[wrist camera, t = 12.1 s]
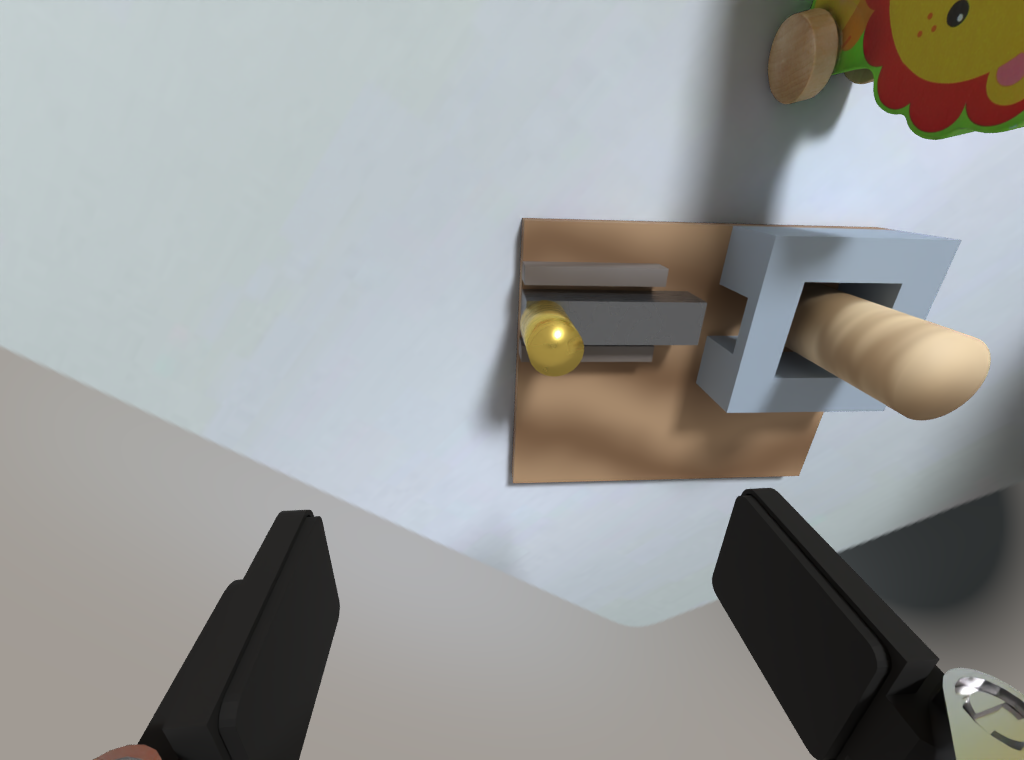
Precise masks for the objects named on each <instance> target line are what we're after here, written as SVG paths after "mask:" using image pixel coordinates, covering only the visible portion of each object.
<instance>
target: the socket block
mask: <svg viewBox="0 0 1024 760" xmlns="http://www.w3.org/2000/svg"><path fill="white" fill-rule="evenodd" d="M960 243H961V240H957V239H951V238H944V237H937V236H931V235H924V234H918V233H911V232H904V231H898V230H876V229H838V228H799V227H761V226H733V229H732V233H731V237H730V241H729V245H728V250H727V254H726V258H725V262H724V267H723V271H722V275H721V279H720V283H719V284H720V285H722V286H724V287H726V288H729V289H731V290H733V291H735V292H737V293H739V294H741V295H743V296H745V297H747V298H748V300H747V304H746V307H745V311H744V315H743V319H742V322H741V326H740V330H739V333H738V336H707V338H706V342H705V347H704V351H703V355H702V359H701V364H700V368H699V372H698V376H697V380H696V384H697V385H699V386H700V387H701V388H702V389H703V390H704V391H705V392H706V393H707V394H708V395H709V396H710V397H711V398H712V399H713V400H714V401H715V402H716V403H717V404H718V405H719V406H720V407H721V408H722V409H723V410H724V411H725V412H726V413H760V412H839V411H884V409H885V407H886V405H885V404H883V403H881V402H880V401H878V400H876V399H874V398H873V397H871V396H869V395H868V394H866V393H864V392H862V391H861V390H859V389H857V388H856V387H854V386H852V385H851V384H849V383H847V382H845V381H844V380H842V379H840V378H839V377H837V376H835V375H833V374H832V373H830V372H828V371H827V370H825V369H823V368H821V367H820V366H818V365H816V364H815V363H813V362H811V361H809V360H808V359H806V358H804V357H803V356H801V355H799V354H797V353H796V352H783V349H784V345H785V342H786V339H787V336H788V333H789V330H790V327H791V324H792V320H793V317H794V314H795V311H796V308H797V305H798V302H799V299H800V295H801V292H802V289H803V286H804V283H805V282H833V283H840V284H839V287H838V290H839V291H842V292H844V293H847V294H850V295H853V296H856V297H859V298H862V299H865V300H868V301H871V302H873V303H876V304H879V305H882V306H885V307H888V308H891V309H894V310H897V311H900V312H903V313H905V314H908V315H911V316H914V317H917V318H920V319H923V320H925V319H926V317H927V315H928V313H929V311H930V308H931V306H932V304H933V302H934V300H935V297H936V295H937V293H938V291H939V289H940V286H941V284H942V282H943V280H944V278H945V275H946V273H947V271H948V269H949V267H950V265H951V262H952V260H953V258H954V256H955V254H956V251H957V249H958V247H959V245H960Z"/></svg>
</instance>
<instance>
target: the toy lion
mask: <svg viewBox="0 0 1024 760" xmlns="http://www.w3.org/2000/svg"><path fill="white" fill-rule="evenodd" d="M843 72H844V74H845V75H846V77H847V78H848V79H849V80H850V81H852V82H854V83H856V84H866V83H869V82H873V81H874V88H873V92H874V97H875V100H876V103H877V104H878V105H879V107H880V108H881V109H883V110H884V111H886V112H887V113H890V114H902V115H904V116H905V118H906V120H907V124H908V126H909V128H910V129H911V130H912V131H913V132H914V133H915V134H916V135H918V136H920V137H922V138H925V139H932V140H938V139H944V138H948V137H952V136H957V135H961V134H965V133H970V132H974V131H977V132H983V133H998V132H1004V131H1008V130H1013V129H1017V128H1021V127H1024V0H813V3H812V6H811V9H810V10H807V11H803V12H799V13H796V14H793V15H791V16H790V17H788V18H787V19H786V20H785V21H784V22H783V23H782V25H781V26H780V28H779V29H778V31H777V33H776V35H775V38H774V40H773V43H772V47H771V51H770V56H769V62H768V79H769V85H770V89H771V92H772V94H773V96H774V97H775V98H776V100H778V101H779V102H780V103H783V104H791V103H795V102H799V101H803V100H807V99H810V98H812V97H814V96H815V95H817V94H818V93H819V92H820V91H821V90H822V89H823V88H824V87H825V85H826V84H827V82H828V80H829V78H830V76H831V75H835V74H839V73H843Z"/></svg>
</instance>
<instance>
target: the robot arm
mask: <svg viewBox="0 0 1024 760" xmlns="http://www.w3.org/2000/svg"><path fill="white" fill-rule="evenodd" d="M712 584H713V588H714V591H715V593H716V595H717V597H718V599H719V600H720V602H721V604H722V606H723V607H724V609H725V611H726V612H727V614H728V616H729V617H730V619H731V621H732V622H733V624H734V626H735V628H736V629H737V631H738V633H739V634H740V636H741V638H742V639H743V641H744V643H745V644H746V646H747V648H748V650H749V651H750V653H751V655H752V656H753V658H754V660H755V662H756V663H757V665H758V667H759V668H760V670H761V672H762V673H763V675H764V677H765V678H766V680H767V682H768V684H769V685H770V687H771V689H772V690H773V692H774V694H775V696H776V697H777V699H778V701H779V702H780V704H781V706H782V707H783V709H784V711H785V712H786V714H787V716H788V717H789V719H790V721H791V723H792V724H793V726H794V728H795V729H796V731H797V733H798V734H799V736H800V738H801V739H802V741H803V743H804V745H805V746H806V748H807V749H808V751H809V752H810V754H811V755H812V756H813V757H814V758H816V759H817V760H1024V695H1023V694H1022V693H1020V692H1019V691H1017V690H1016V689H1014V688H1013V687H1012V686H1010V685H1008V684H1006V683H1004V682H1002V681H1001V680H999V679H997V678H995V677H993V676H991V675H988V674H985V673H982V672H979V671H976V670H973V669H966V668H956V669H951V670H949V671H948V672H947V673H946V674H944V673H943V672H942V671H941V670H940V669H939V668H938V667H937V666H936V664H937V662H938V661H939V658H938V657H937V656H936V655H935V654H934V653H933V652H932V651H931V650H930V649H929V648H928V647H927V646H926V645H925V644H924V643H923V642H922V640H921V639H920V638H919V637H918V636H917V635H916V634H915V633H914V632H913V631H912V630H911V629H910V628H909V627H908V626H907V625H906V624H905V623H904V622H903V621H902V620H901V619H900V618H899V617H898V616H897V615H896V614H895V613H894V612H893V610H892V609H891V608H890V607H889V606H888V605H887V604H886V603H885V602H884V601H883V600H882V599H881V598H880V597H879V596H878V595H877V594H876V593H875V592H874V591H873V590H872V589H871V588H870V587H869V586H868V585H867V584H866V583H865V582H864V581H863V579H862V578H861V577H860V576H859V575H858V574H857V573H856V572H855V571H854V570H853V569H852V568H851V567H850V566H849V565H848V564H847V563H846V562H845V561H844V560H843V559H842V558H841V557H840V556H839V555H838V554H837V553H836V552H835V551H834V549H833V548H832V547H831V546H830V545H829V544H828V543H827V542H826V541H825V540H824V539H823V538H822V537H821V536H820V535H819V534H818V533H817V532H816V531H815V530H814V529H813V528H812V527H811V526H810V525H809V524H808V523H807V522H806V521H805V520H804V518H803V517H802V516H801V515H800V514H799V513H798V512H797V511H796V510H795V509H794V508H793V507H792V506H791V505H790V504H789V503H788V502H787V501H786V500H785V499H784V498H783V497H782V496H781V495H780V494H779V493H778V492H777V491H776V490H775V489H772V488H759V489H746V490H745V491H743V493H742V495H741V496H738V497H737V499H736V501H735V504H734V507H733V511H732V514H731V517H730V520H729V524H728V527H727V530H726V534H725V537H724V540H723V543H722V547H721V550H720V553H719V557H718V560H717V563H716V566H715V570H714V573H713V577H712ZM339 610H340V604H339V598H338V593H337V588H336V584H335V579H334V575H333V569H332V565H331V560H330V555H329V550H328V546H327V541H326V536H325V532H324V527H323V522H322V519H321V517H320V516H316V517H314V515H313V512H312V511H311V510H296V511H282V512H280V513H279V514H278V516H277V517H276V519H275V521H274V523H273V525H272V527H271V528H270V530H269V532H268V534H267V536H266V538H265V540H264V541H263V543H262V545H261V547H260V549H259V551H258V552H257V555H256V556H255V558H254V560H253V562H252V564H251V565H250V567H249V569H248V571H247V573H246V575H245V577H244V578H243V580H235V581H233V582H232V583H231V584H230V585H229V586H228V587H227V589H226V590H225V592H224V593H223V595H222V597H221V598H220V600H219V602H218V604H217V605H216V607H215V609H214V611H213V612H212V614H211V616H210V618H209V620H208V621H207V623H206V625H205V627H204V628H203V630H202V632H201V634H200V635H199V637H198V639H197V641H196V642H195V644H194V646H193V648H192V650H191V651H190V653H189V655H188V656H187V658H186V660H185V662H184V664H183V665H182V667H181V669H180V670H179V672H178V674H177V676H176V678H175V679H174V681H173V683H172V685H171V686H170V688H169V690H168V692H167V693H166V695H165V697H164V699H163V700H162V702H161V704H160V706H159V707H158V709H157V711H156V713H155V714H154V716H153V718H152V720H151V721H150V723H149V725H148V727H147V728H146V730H145V732H144V734H143V736H142V737H141V739H140V741H139V742H138V744H137V745H126V746H123V747H120V748H116V749H113V750H110V751H108V752H106V753H104V754H103V755H101V756H99V757H97V758H95V759H93V760H299V758H300V754H301V750H302V747H303V743H304V740H305V736H306V733H307V729H308V725H309V722H310V718H311V715H312V711H313V708H314V704H315V701H316V697H317V693H318V690H319V686H320V683H321V679H322V675H323V672H324V668H325V665H326V661H327V658H328V654H329V651H330V647H331V644H332V640H333V636H334V633H335V629H336V626H337V622H338V618H339Z"/></svg>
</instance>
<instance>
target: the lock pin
mask: <svg viewBox="0 0 1024 760" xmlns="http://www.w3.org/2000/svg"><path fill="white" fill-rule="evenodd" d="M706 307H707V302H705V301H704V300H702V299H700V298H699V297H697V296H695V295H693V294H692V293H690V292H688V291H639V290H558V289H522V297H521V320H520V331H521V335H522V338H523V342H524V345H525V346H526V349H527V353H528V356H529V359H530V362H531V364H532V366H533V367H534V368H535V369H536V370H537V371H538V372H540V373H541V374H544V375H547V376H553V377H555V376H562V375H565V374H567V373H569V372H571V371H572V370H574V369H575V368H576V367H577V366H578V364H579V363H580V361H581V360H582V357H583V354H584V345H698V342H699V337H700V333H701V329H702V324H703V320H704V316H705V311H706Z"/></svg>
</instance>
